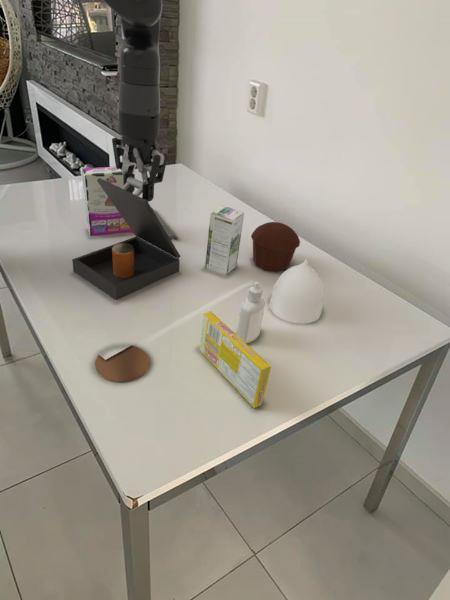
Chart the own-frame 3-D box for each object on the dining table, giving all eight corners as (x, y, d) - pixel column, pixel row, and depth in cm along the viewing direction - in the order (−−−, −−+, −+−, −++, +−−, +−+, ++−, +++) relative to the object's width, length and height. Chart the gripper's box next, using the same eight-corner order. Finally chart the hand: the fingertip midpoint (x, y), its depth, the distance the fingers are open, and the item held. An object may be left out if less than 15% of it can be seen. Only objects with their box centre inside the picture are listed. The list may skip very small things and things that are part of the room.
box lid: (144, 203, 85) (160, 185, 86) (96, 180, 92) (112, 164, 93) (178, 259, 100) (192, 243, 101) (135, 235, 107) (148, 221, 108)
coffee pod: (122, 280, 96) (121, 255, 93) (108, 272, 99) (107, 247, 95) (138, 273, 99) (138, 248, 96) (125, 265, 102) (124, 241, 98)
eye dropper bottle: (266, 339, 86) (276, 286, 79) (240, 345, 83) (248, 291, 77) (255, 326, 89) (264, 274, 82) (230, 331, 87) (237, 278, 80)
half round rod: (153, 210, 130) (153, 205, 129) (178, 241, 116) (179, 234, 115) (139, 212, 128) (139, 206, 127) (163, 243, 114) (163, 236, 113)
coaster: (118, 390, 71) (118, 389, 71) (84, 362, 76) (83, 360, 76) (160, 364, 77) (160, 362, 77) (126, 339, 82) (126, 337, 82)
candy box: (264, 404, 72) (272, 365, 67) (253, 409, 71) (261, 370, 66) (208, 346, 82) (211, 309, 78) (198, 350, 81) (201, 313, 77)
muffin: (240, 265, 108) (245, 227, 103) (257, 247, 117) (263, 211, 111) (286, 280, 105) (294, 241, 99) (301, 260, 113) (309, 224, 108)
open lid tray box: (116, 303, 91) (115, 287, 89) (73, 274, 98) (72, 259, 96) (179, 274, 102) (179, 259, 100) (136, 250, 110) (136, 236, 107)
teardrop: (321, 328, 91) (335, 277, 84) (266, 318, 92) (276, 266, 85) (321, 298, 100) (334, 250, 93) (272, 289, 101) (281, 241, 94)
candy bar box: (129, 226, 120) (128, 165, 111) (134, 234, 116) (133, 172, 107) (86, 230, 116) (81, 167, 107) (90, 238, 112) (85, 174, 103)
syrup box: (215, 260, 109) (220, 204, 101) (237, 267, 107) (244, 210, 99) (204, 270, 105) (209, 212, 97) (227, 278, 103) (233, 219, 95)
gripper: (98, 101, 84) (101, 189, 94) (149, 119, 77) (147, 212, 86) (130, 99, 89) (130, 182, 99) (181, 116, 82) (175, 204, 92)
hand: (138, 196), depth 93 cm, fingers closed on box lid, 5 cm apart
